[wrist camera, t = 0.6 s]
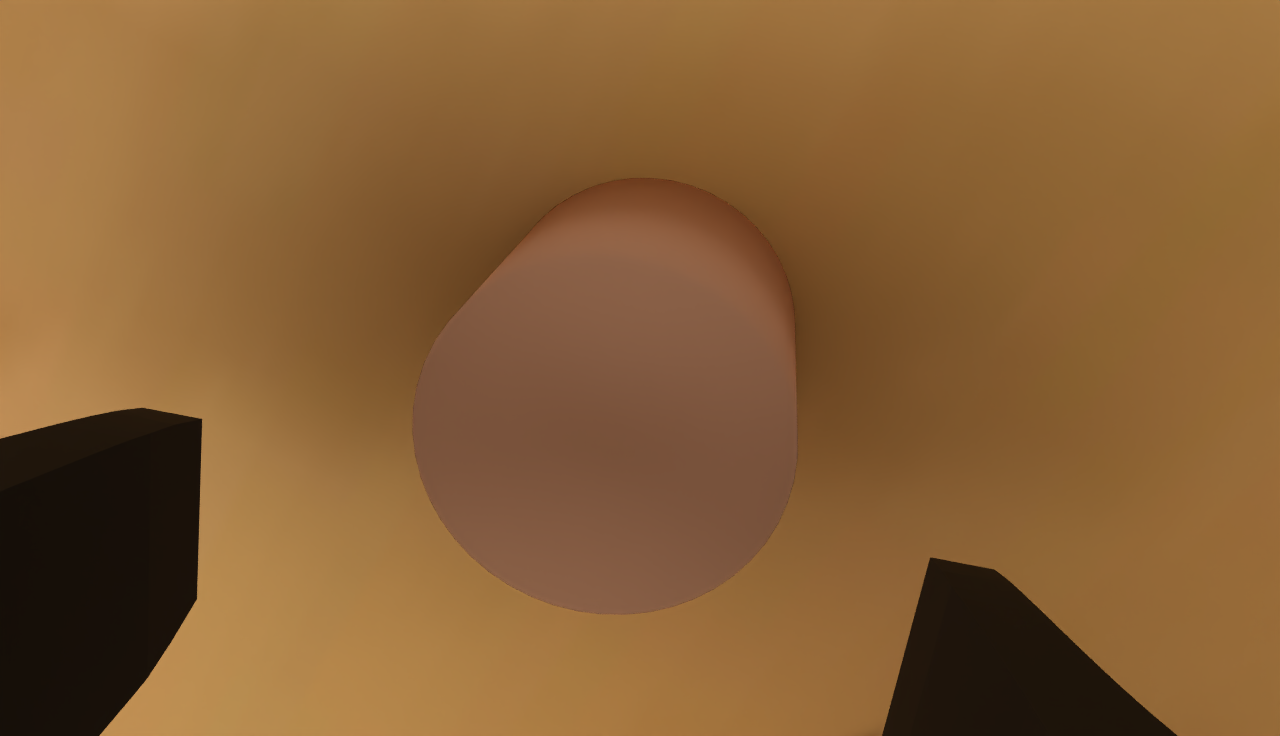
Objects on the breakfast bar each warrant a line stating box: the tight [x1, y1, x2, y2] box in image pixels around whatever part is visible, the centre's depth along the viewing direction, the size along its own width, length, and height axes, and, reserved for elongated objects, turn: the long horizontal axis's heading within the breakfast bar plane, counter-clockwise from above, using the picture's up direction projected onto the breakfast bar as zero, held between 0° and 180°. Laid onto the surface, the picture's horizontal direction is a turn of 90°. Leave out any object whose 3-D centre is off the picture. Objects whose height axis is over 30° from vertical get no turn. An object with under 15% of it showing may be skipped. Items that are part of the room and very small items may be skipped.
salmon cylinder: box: [413, 178, 798, 615], centre depth 17 cm, size 5×5×5 cm
